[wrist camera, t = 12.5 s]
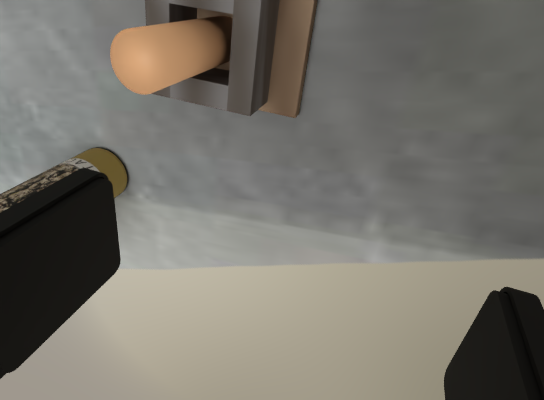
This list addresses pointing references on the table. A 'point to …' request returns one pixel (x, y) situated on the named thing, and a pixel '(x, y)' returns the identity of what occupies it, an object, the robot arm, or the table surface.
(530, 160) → the table surface
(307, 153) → the table surface
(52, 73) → the table surface
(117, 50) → the peg
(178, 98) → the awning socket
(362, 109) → the table surface
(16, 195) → the paper tube
